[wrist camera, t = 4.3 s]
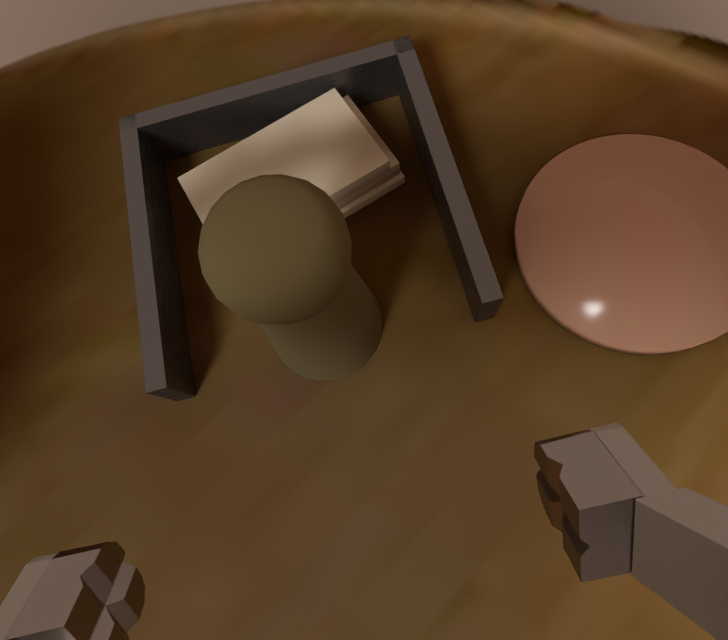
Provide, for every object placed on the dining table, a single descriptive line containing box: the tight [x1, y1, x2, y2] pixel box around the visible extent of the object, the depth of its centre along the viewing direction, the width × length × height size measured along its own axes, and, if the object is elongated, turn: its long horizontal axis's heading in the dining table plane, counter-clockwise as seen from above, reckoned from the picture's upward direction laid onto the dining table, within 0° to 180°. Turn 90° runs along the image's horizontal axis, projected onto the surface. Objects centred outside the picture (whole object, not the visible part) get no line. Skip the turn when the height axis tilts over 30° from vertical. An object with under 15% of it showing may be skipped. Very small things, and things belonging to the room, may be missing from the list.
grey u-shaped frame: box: [119, 36, 504, 401], centre depth 26 cm, size 16×17×3 cm
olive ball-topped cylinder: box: [198, 174, 382, 381], centre depth 20 cm, size 6×6×11 cm
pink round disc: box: [513, 134, 728, 355], centre depth 24 cm, size 12×12×1 cm
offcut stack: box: [177, 88, 405, 224], centre depth 27 cm, size 6×11×3 cm, turn 121°
